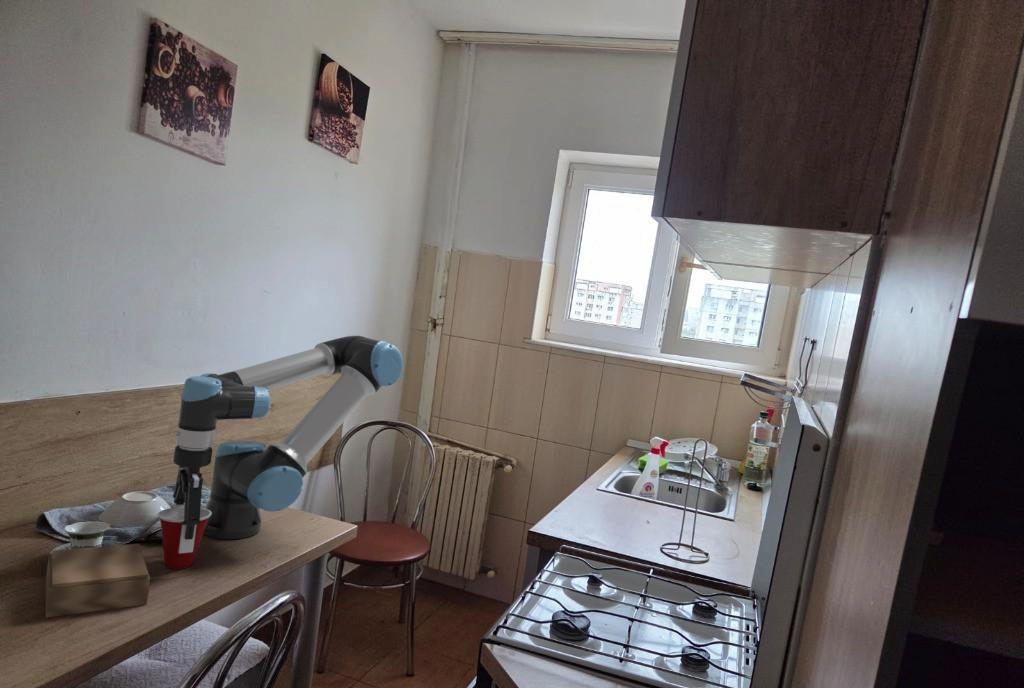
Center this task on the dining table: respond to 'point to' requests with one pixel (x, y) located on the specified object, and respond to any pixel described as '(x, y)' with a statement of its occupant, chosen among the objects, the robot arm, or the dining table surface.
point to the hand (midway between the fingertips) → (181, 541)
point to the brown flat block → (95, 579)
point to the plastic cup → (179, 536)
